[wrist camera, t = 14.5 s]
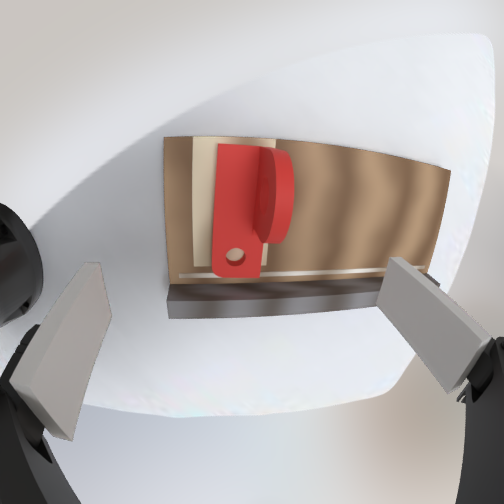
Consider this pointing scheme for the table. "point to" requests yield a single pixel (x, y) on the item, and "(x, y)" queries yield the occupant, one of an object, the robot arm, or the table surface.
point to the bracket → (250, 206)
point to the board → (301, 229)
